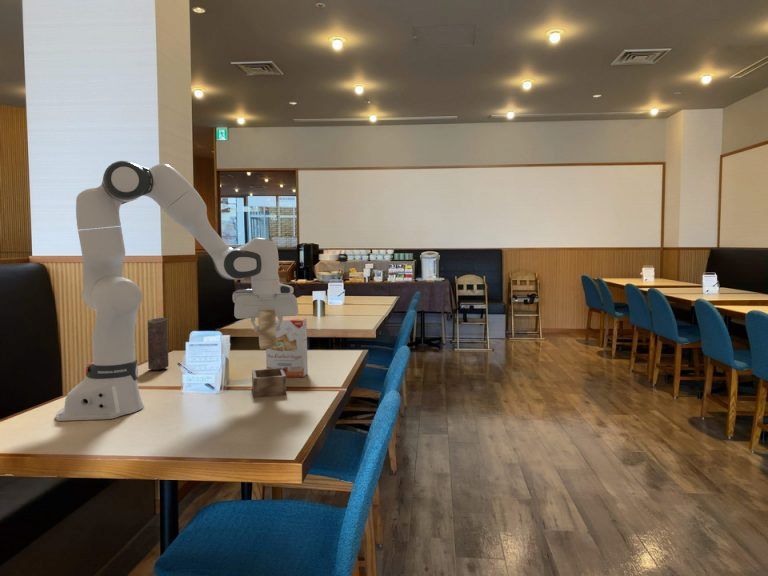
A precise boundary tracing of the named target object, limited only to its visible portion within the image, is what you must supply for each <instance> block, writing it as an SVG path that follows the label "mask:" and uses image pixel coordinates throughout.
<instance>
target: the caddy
mask: <svg viewBox="0 0 768 576" xmlns="http://www.w3.org/2000/svg"><path fill="white" fill-rule="evenodd" d="M251 382H252V384H251V385H252V388H251V389H252V394H253V398H265V397H276V396H286V395H287V377H286V375H285V373H284V371H283V369H282V368H273V369H267V368H262V369H261V368H260V369H252V370H251Z"/></svg>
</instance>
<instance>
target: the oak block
mask: <svg viewBox="0 0 768 576" xmlns="http://www.w3.org/2000/svg"><path fill="white" fill-rule="evenodd" d="M275 318H276V317H275V310H268V311H259V318H257V321H258V322H257V323H258V325H257V326H259V332H258V346H259V350H266V349H274V348H276V319H275Z"/></svg>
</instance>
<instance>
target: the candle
mask: <svg viewBox="0 0 768 576" xmlns="http://www.w3.org/2000/svg"><path fill="white" fill-rule="evenodd" d="M168 331H169V330H168V318H166V317H155V318H152V319H148V320H147V350H148V351H147V360H148V362H147V364H148V367H147V368H148V369H149V370H152V371H160V370H164V369H166V368H168V367H169V364H170V363H169V337H168V336H169V335H168Z"/></svg>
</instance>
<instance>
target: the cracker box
mask: <svg viewBox="0 0 768 576" xmlns="http://www.w3.org/2000/svg"><path fill="white" fill-rule="evenodd" d="M275 319H276V325H277V324H278V322H279V320H278V317H275ZM307 327H308V326H307V318H295V317H294V318H290V317H289V318H288V317H287V318H286V317H285V318H284V317H283V320H282V322H281V324H280V331H276V348H274V349H265V354H266V355H265V359H266V361H265V363H266V366H265V367H266V369H273V368H282V369H283V371H284V373H285V375H286V378H304V377H305V376H307V375H308V370H309V369H308V336H307V335H308V333H307V332H308V331H307V330H308V329H307Z"/></svg>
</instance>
